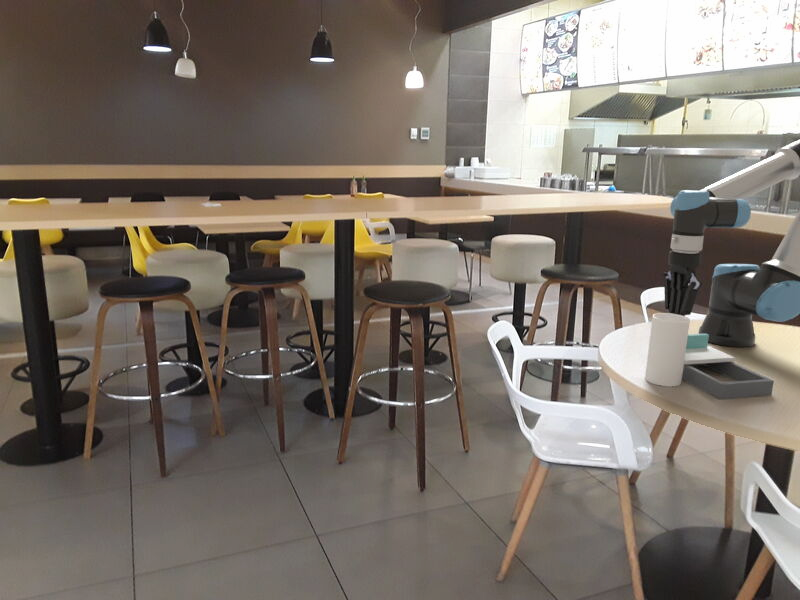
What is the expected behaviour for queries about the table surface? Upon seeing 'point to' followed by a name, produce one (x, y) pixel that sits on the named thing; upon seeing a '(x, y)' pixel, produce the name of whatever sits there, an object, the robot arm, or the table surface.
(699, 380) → the grey shallow rectangular tray
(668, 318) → the cup
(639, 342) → the table surface
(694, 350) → the cover
